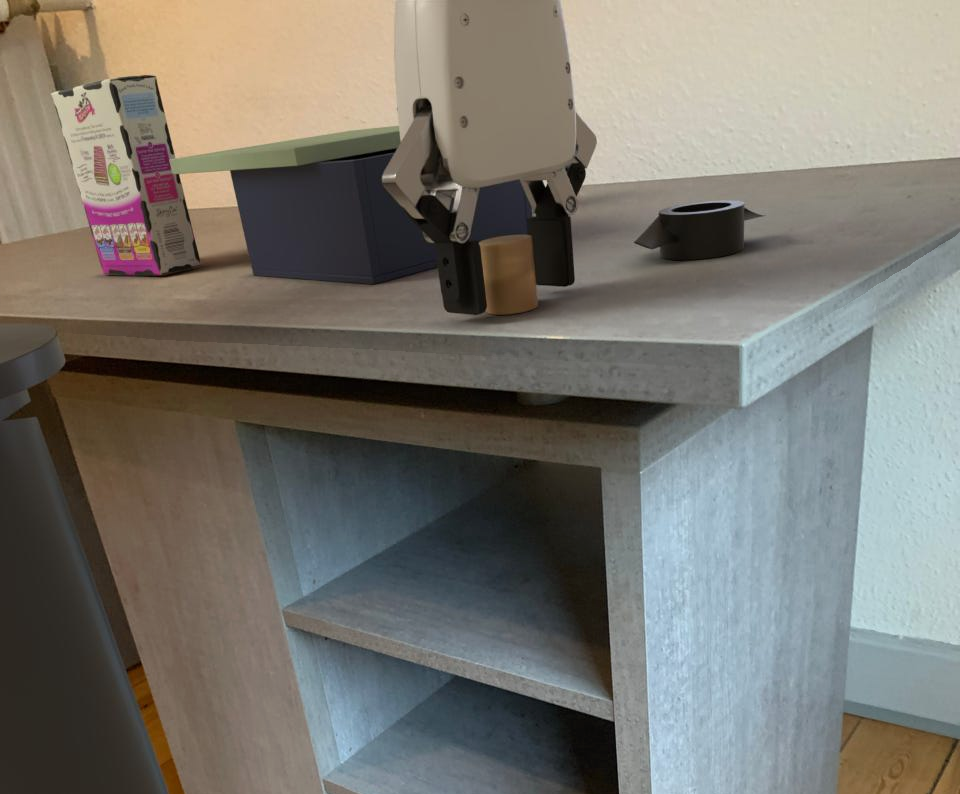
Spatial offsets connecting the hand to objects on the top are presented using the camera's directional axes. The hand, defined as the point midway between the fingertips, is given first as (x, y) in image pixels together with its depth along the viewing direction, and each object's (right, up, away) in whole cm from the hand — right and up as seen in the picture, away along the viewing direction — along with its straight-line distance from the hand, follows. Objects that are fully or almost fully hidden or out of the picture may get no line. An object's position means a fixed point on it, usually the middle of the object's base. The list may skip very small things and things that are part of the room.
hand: (510, 295), depth 60 cm
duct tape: (+14, +6, +10) cm, 18 cm away
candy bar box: (-34, +15, +37) cm, 53 cm away
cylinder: (0, -1, 0) cm, 1 cm away
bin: (-9, +12, +25) cm, 30 cm away
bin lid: (-15, +21, +26) cm, 37 cm away
